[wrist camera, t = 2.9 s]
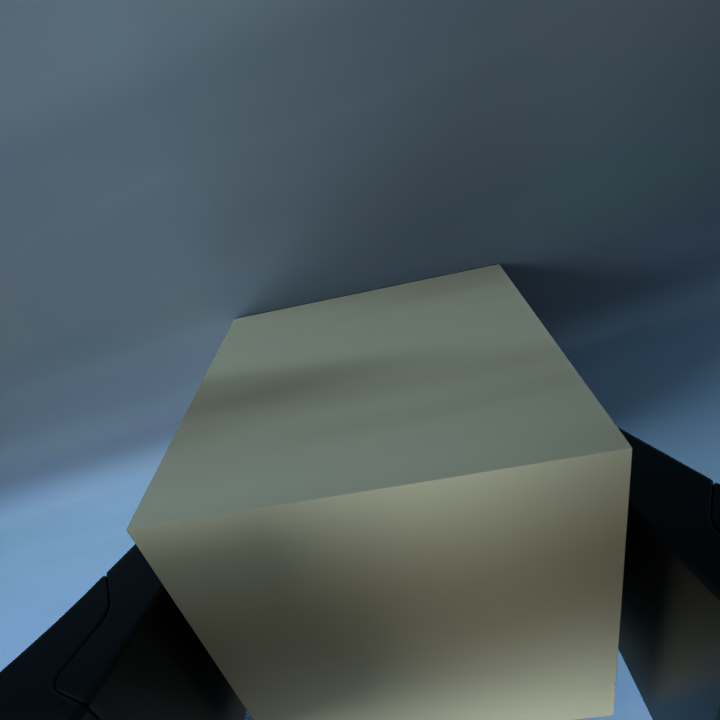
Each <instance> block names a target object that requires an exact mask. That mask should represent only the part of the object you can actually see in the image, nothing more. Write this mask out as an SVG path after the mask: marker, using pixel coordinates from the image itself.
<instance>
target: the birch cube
mask: <svg viewBox="0 0 720 720" xmlns="http://www.w3.org/2000/svg"><path fill="white" fill-rule="evenodd" d="M631 460H632V447H631V445H630V444H629V443H628V441H627V440H626V438H625V437H624V436H623V434H622V433H621V432H620V430H619V429H618V427H617V426H616V425H615V423H614V422H613V421H612V419H611V418H610V416H609V415H608V414H607V412H606V411H605V410H604V408H603V407H602V405H601V404H600V403H599V401H598V400H597V398H596V397H595V396H594V394H593V393H592V392H591V390H590V389H589V387H588V386H587V385H586V383H585V382H584V381H583V379H582V378H581V376H580V375H579V374H578V372H577V371H576V369H575V368H574V367H573V365H572V364H571V363H570V361H569V360H568V358H567V357H566V356H565V354H564V353H563V352H562V350H561V349H560V347H559V346H558V345H557V343H556V342H555V340H554V339H553V338H552V336H551V335H550V334H549V332H548V331H547V329H546V328H545V327H544V325H543V324H542V323H541V321H540V320H539V318H538V317H537V316H536V314H535V313H534V311H533V310H532V309H531V307H530V306H529V305H528V303H527V302H526V300H525V299H524V298H523V296H522V295H521V294H520V292H519V291H518V289H517V288H516V287H515V285H514V284H513V282H512V281H511V280H510V278H509V277H508V276H507V274H506V273H505V271H504V270H503V269H502V267H501V266H500V265H499V264H497V265H492V266H487V267H483V268H478V269H473V270H468V271H463V272H459V273H454V274H449V275H444V276H439V277H434V278H430V279H425V280H420V281H415V282H410V283H406V284H401V285H396V286H391V287H386V288H382V289H377V290H372V291H367V292H362V293H358V294H353V295H348V296H343V297H338V298H333V299H329V300H324V301H319V302H314V303H309V304H305V305H300V306H295V307H290V308H285V309H281V310H276V311H271V312H266V313H261V314H257V315H252V316H247V317H242V318H237V319H234V320H233V322H232V324H231V326H230V328H229V330H228V332H227V334H226V336H225V338H224V340H223V342H222V344H221V346H220V348H219V350H218V352H217V354H216V356H215V358H214V360H213V362H212V364H211V365H210V367H209V369H208V371H207V373H206V375H205V377H204V379H203V381H202V383H201V385H200V387H199V389H198V391H197V393H196V395H195V397H194V399H193V401H192V403H191V405H190V407H189V409H188V411H187V412H186V414H185V416H184V418H183V420H182V422H181V424H180V426H179V428H178V430H177V432H176V434H175V436H174V438H173V440H172V442H171V444H170V446H169V448H168V450H167V452H166V454H165V456H164V458H163V459H162V461H161V463H160V465H159V467H158V469H157V471H156V473H155V475H154V477H153V479H152V481H151V483H150V485H149V487H148V489H147V491H146V493H145V495H144V497H143V499H142V501H141V503H140V505H139V506H138V508H137V510H136V512H135V514H134V516H133V518H132V520H131V522H130V524H129V526H128V528H127V532H128V533H129V535H130V536H131V538H132V539H133V541H134V542H135V544H136V545H137V547H138V548H139V550H140V551H141V553H142V554H143V556H144V557H145V559H146V560H147V562H148V563H149V565H150V566H151V568H152V569H153V571H154V572H155V574H156V575H157V576H158V578H159V579H160V581H161V582H162V584H163V585H164V587H165V588H166V590H167V591H168V593H169V594H170V596H171V597H172V599H173V600H174V602H175V603H176V605H177V606H178V608H179V609H180V611H181V612H182V614H183V615H184V617H185V618H186V620H187V621H188V623H189V624H190V626H191V627H192V629H193V630H194V632H195V633H196V635H197V636H198V638H199V639H200V641H201V642H202V644H203V645H204V647H205V648H206V650H207V651H208V653H209V654H210V656H211V657H212V659H213V660H214V662H215V663H216V665H217V666H218V668H219V669H220V671H221V672H222V674H223V675H224V677H225V678H226V680H227V681H228V683H229V684H230V686H231V687H232V689H233V690H234V692H235V693H236V695H237V696H238V698H239V699H240V701H241V702H242V704H243V705H244V707H245V708H246V710H247V711H248V713H249V714H250V716H251V717H252V719H253V720H576V719H586V718H595V717H605V716H613V714H614V700H615V685H616V671H617V657H618V643H619V629H620V615H621V601H622V587H623V573H624V559H625V544H626V530H627V516H628V502H629V488H630V474H631Z"/></svg>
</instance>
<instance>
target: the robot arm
mask: <svg viewBox="0 0 720 720" xmlns="http://www.w3.org/2000/svg"><path fill="white" fill-rule="evenodd" d="M618 429H619V430H620V432H621V433H622V434H623V436H624V437H625V438H626V440H627V441H628V443H629V444H630V445H631V447H632V460H631V474H630V488H629V502H628V516H627V530H626V544H625V559H624V573H623V587H622V601H621V615H620V629H619V643H618V649H619V651H620V653H621V655H622V657H623V659H624V661H625V663H626V665H627V667H628V669H629V671H630V673H631V676H632V678H633V680H634V682H635V684H636V686H637V688H638V690H639V692H640V694H641V696H642V698H643V700H644V702H645V704H646V706H647V708H648V711H649V713H650V715H651V717H652V719H653V720H720V484H719V483H715V484H714V485H713V481H712V480H711V479H710V478H708V477H706V476H704V475H702V474H701V473H699V472H697V471H695V470H693V469H692V468H690V467H688V466H686V465H684V464H683V463H681V462H679V461H677V460H675V459H674V458H672V457H670V456H668V455H667V454H665V453H663V452H661V451H659V450H658V449H656V448H654V447H652V446H650V445H649V444H647V443H645V442H643V441H641V440H640V439H638V438H636V437H634V436H633V435H631V434H629V433H627V432H625V431H624V430H622V429H620V428H618ZM245 714H246V708H245V707H244V705H243V704H242V702H241V701H240V699H239V698H238V696H237V695H236V693H235V692H234V690H233V689H232V687H231V686H230V684H229V683H228V681H227V680H226V678H225V677H224V675H223V674H222V672H221V671H220V669H219V668H218V666H217V665H216V663H215V662H214V660H213V659H212V657H211V656H210V654H209V653H208V651H207V650H206V648H205V647H204V645H203V644H202V642H201V641H200V639H199V638H198V636H197V635H196V633H195V632H194V630H193V629H192V627H191V626H190V624H189V623H188V621H187V620H186V618H185V617H184V615H183V614H182V612H181V611H180V609H179V608H178V606H177V605H176V603H175V602H174V600H173V599H172V597H171V596H170V594H169V593H168V591H167V590H166V588H165V587H164V585H163V584H162V582H161V581H160V579H159V578H158V576H157V575H156V574H155V572H154V571H153V569H152V568H151V566H150V565H149V563H148V562H147V560H146V559H145V557H144V556H143V554H142V553H141V551H140V550H139V548H138V547H137V545H136V544H135V545H134V546H133V547H132V548H131V549H130V550H129V551H128V552H127V553H126V554H125V555H124V556H123V557H122V558H121V559H120V560H119V561H118V562H117V563H116V564H115V565H114V566H113V567H112V568H111V569H110V570H109V571H108V572H107V577H106V576H103V577H102V578H101V579H100V580H99V581H98V582H97V583H96V584H95V585H94V586H93V587H92V588H91V589H90V590H89V591H88V592H87V593H86V594H85V595H84V596H83V597H82V598H81V599H80V600H79V601H78V602H76V603H75V604H74V605H73V606H72V607H71V608H70V609H69V610H68V611H67V612H66V613H65V614H64V615H63V616H62V617H61V618H60V619H59V620H58V621H57V622H56V623H55V624H53V625H52V626H51V627H50V628H49V629H48V630H47V631H46V632H45V633H44V634H42V635H41V636H40V637H39V638H38V639H37V640H36V641H35V642H34V643H32V644H31V645H30V646H29V647H28V648H27V649H26V650H25V651H24V652H22V653H21V654H20V655H19V656H18V657H17V658H16V659H15V660H13V661H12V662H11V663H10V664H9V665H8V666H7V667H5V668H4V669H3V670H2V671H1V672H0V720H245Z"/></svg>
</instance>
